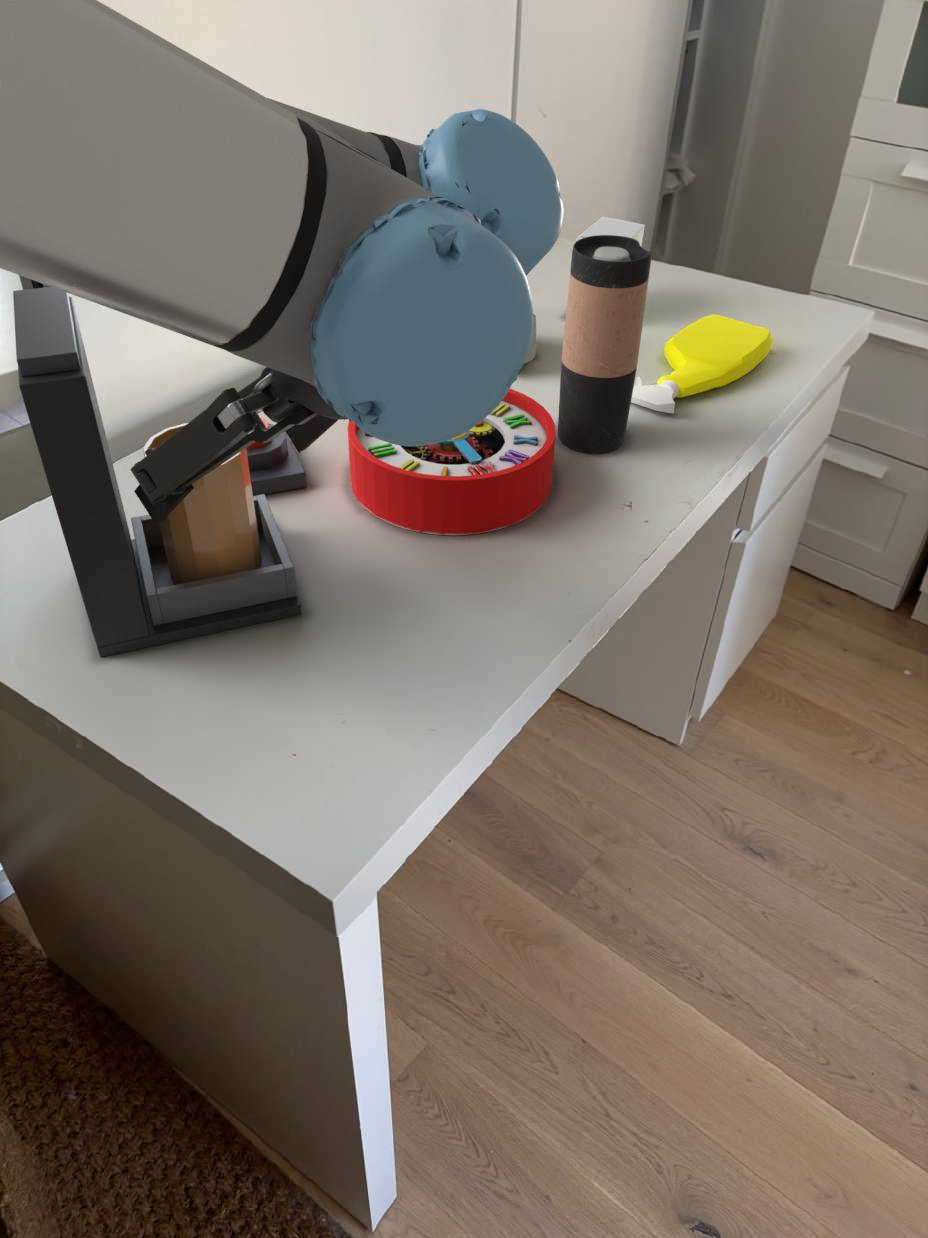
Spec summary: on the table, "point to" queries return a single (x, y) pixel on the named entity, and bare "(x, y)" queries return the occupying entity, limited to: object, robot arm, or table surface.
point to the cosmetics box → (614, 229)
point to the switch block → (275, 467)
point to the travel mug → (601, 341)
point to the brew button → (259, 445)
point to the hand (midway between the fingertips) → (224, 469)
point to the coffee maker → (93, 510)
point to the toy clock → (460, 473)
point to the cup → (211, 522)
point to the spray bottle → (705, 360)
